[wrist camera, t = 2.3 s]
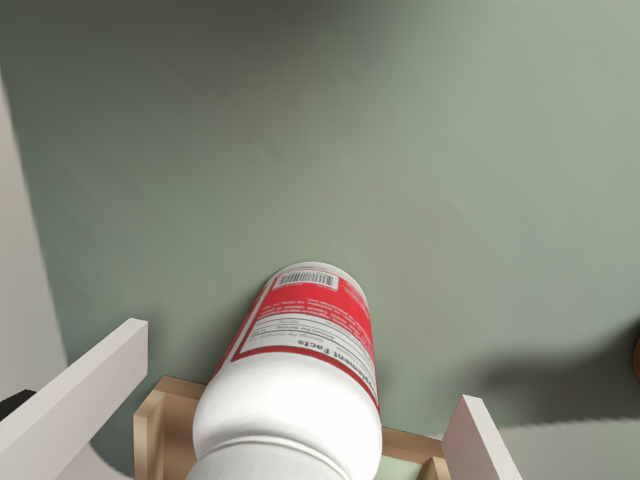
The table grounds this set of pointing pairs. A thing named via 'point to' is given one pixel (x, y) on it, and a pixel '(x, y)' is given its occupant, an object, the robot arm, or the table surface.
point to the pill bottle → (294, 386)
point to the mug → (637, 359)
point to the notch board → (179, 457)
